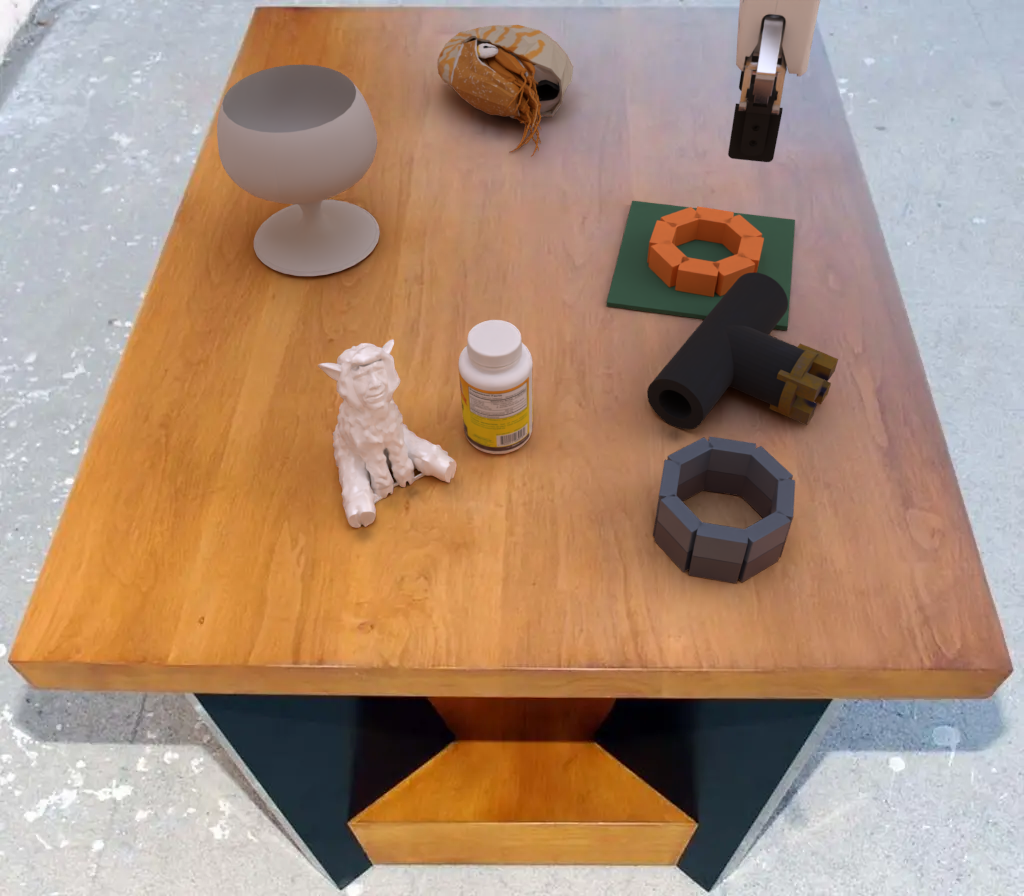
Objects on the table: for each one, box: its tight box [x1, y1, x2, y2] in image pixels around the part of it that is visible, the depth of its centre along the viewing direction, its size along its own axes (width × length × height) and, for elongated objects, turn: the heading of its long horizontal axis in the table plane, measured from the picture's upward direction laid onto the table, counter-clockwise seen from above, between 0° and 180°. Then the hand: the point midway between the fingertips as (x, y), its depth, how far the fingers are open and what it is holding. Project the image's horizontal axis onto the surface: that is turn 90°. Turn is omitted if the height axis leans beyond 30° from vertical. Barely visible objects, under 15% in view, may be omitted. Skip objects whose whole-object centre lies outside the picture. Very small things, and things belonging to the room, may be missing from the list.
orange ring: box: [647, 205, 764, 297], centre depth 93 cm, size 10×10×2 cm
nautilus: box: [436, 24, 574, 158], centre depth 110 cm, size 8×22×15 cm
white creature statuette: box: [317, 338, 458, 529], centre depth 74 cm, size 10×9×12 cm
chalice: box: [216, 64, 381, 277], centre depth 92 cm, size 14×14×15 cm
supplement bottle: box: [457, 319, 534, 455], centre depth 77 cm, size 6×6×10 cm
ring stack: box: [652, 436, 796, 584], centre depth 72 cm, size 9×9×5 cm
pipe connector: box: [646, 272, 839, 430], centre depth 81 cm, size 12×5×15 cm
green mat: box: [605, 200, 796, 331], centre depth 94 cm, size 16×16×1 cm
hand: (754, 123), depth 76 cm, fingers open, 9 cm apart
